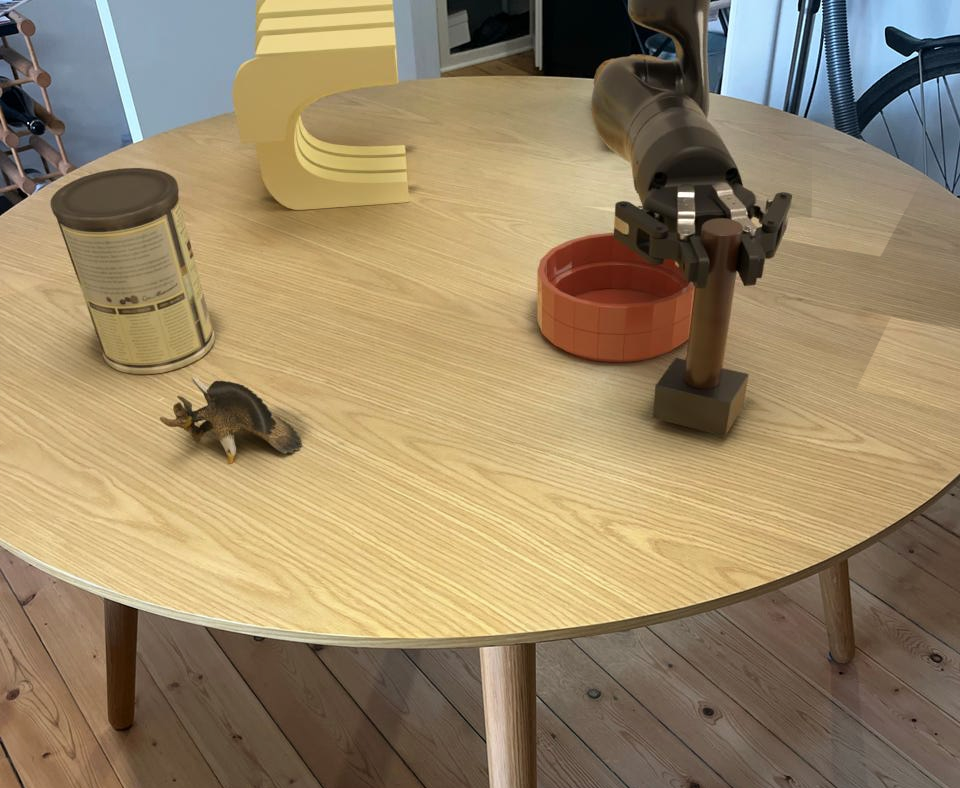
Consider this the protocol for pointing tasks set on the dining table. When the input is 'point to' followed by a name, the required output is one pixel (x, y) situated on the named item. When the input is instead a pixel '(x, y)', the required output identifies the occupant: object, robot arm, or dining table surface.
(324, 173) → the slatted curved stool
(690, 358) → the hammer
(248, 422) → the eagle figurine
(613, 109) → the robot arm
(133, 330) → the coffee can
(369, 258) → the dining table surface
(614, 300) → the bowl
